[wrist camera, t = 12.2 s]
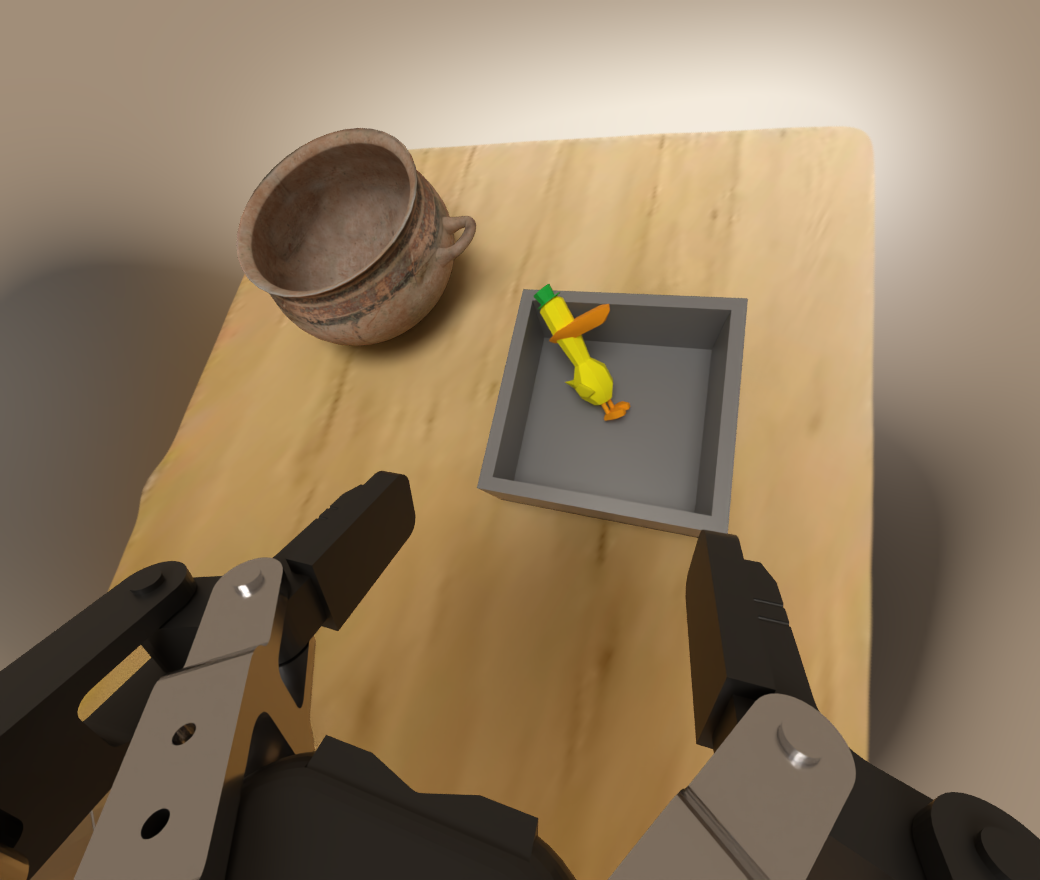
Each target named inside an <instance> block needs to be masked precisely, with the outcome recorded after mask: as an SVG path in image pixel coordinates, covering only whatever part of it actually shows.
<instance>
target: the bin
mask: <svg viewBox="0 0 1040 880" xmlns="http://www.w3.org/2000/svg"><path fill="white" fill-rule="evenodd" d="M538 291H539V290H528V289H523V293H522V297H521V301H520V305H519V310H518V314H517V318H516V323H515V327H514V331H513V336H512V340H511V344H510V348H509V353H508V357H507V361H506V366H505V370H504V374H503V378H502V383H501V387H500V391H499V396H498V400H497V404H496V409H495V413H494V417H493V421H492V426H491V430H490V434H489V439H488V443H487V447H486V451H485V456H484V460H483V464H482V469H481V473H480V477H479V482H478V486H477V488H478V489H480V490H483V491H485V492H487V493H489V494H491V495H493V496H495V497H497V498H500V499H502V500H506V501H512V502H517V503H522V504H527V505H532V506H537V507H543V508H548V509H553V510H558V511H563V512H568V513H574V514H579V515H584V516H589V517H594V518H599V519H605V520H610V521H615V522H620V523H625V524H630V525H636V526H641V527H646V528H651V529H656V530H662V531H667V532H672V533H677V534H682V535H687V536H693V537H699V534H700V532H701V530H702V529H704V530H710V531H715V532H721V533H726V534H728V524H729V512H730V500H731V488H732V477H733V465H734V453H735V442H736V430H737V418H738V406H739V395H740V383H741V371H742V359H743V348H744V336H745V324H746V313H747V301H748V299H747V298H723V297H698V296H674V295H649V294H625V293H601V292H576V291H553V292H554V294H557V293H559V292H560V294H559V295H557V296H559V297H562V298H563V299H564V301H565V303H566V305H567V306H568V308H569V310H570V312H571V314H572V316H573V318H574V319H575V318H576V317H578V316H580V315H582V314H584V313H586V312H588V311H590V310H592V309H593V308H595V307H597V306H600V305H603V304H609V307H610V311H609V314H608V316H607V319H606V321H605V322H604V323H603V324H601V325H599V326H597V327H595V328H593V329H592V330H590V331H588V332H586V333H584V334H582V337H583V340H584V342H585V345H586V347H587V350H588V353H589V355H590V357H591V358H593V359H596V360H598V361H600V362H602V363H604V364H605V365H606V367H607V369H608V371H609V373H610V375H611V377H612V378H613V389H612V398H611V401H612V402H613V404H614V405H615V404H617V403H618V402H621V401H624V402H628V403H630V406H631V407H630V408H629V409H628V410H626V414H625V415H624V416H622V417H619V418H617V419H613V420H607V421H605V420H604V416H605V414H606V413H605V411H604V409H603V408H602V406H601V405H593V404H591V403H589V402H587V401H585V400H583V399H582V398H581V397H580V396H579V394H578V393H577V391H576V390H575V389H574V388H573V387H571V386H570V385H568V384H567V383H565V382H567V381H571V380H574V371H575V366H574V365H573V363H572V362H571V361H570V359H569V358H568V356H567V355H566V354H565V352H564V351H563V350H562V348H561V347H560V345H559V344H558V343H552V342H550V341H549V340H550V338H551V337H552V336H553V335H552V333H551V331H550V329H549V328H548V326H547V324H546V322H545V320H544V319H543V317H542V315H541V313H540V311H541V308H540V309H539V310H538V308H539V307H540V306H541V304H540V303H539V302H538V301H537V300H536V299H535V298H534V297H533V296H534V295H535V294H536V293H537V292H538ZM605 403H606V405H607V406H608V408H609V409H610V407H609V405H608V403H607V402H605Z"/></svg>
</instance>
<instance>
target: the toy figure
mask: <svg viewBox="0 0 1040 880" xmlns="http://www.w3.org/2000/svg"><path fill="white" fill-rule="evenodd" d="M559 294H560V292H559V293H557V294H554V292H553V290H552V288H551V286H550V284H547V285H546V286H545V287H543V288H542V289H541V290H539V291H538V292H537V293H536V294H535V295H534V296H533V297H534V298H535V299H536V300H537V301H538V302H539V303H540V304H541V306H540V307H539V308H538V310H539V309H540V308H541V311H540V313H541V315H542V317H543V319H544V320H545V322H546V324H547V326H548V328H549V329H550V331H551V333H552V335H553V336H552V337H551V338H550V340H549V341H550V342H552V343H558V344H559V345H560V347H561V348H562V350H563V351H564V352H565V354H566V355H567V356H568V358H569V359H570V361H571V362H572V363H573V365H574V366H575V371H574V380H571V381H567V382H565V383H567V384H568V385H570V386H571V387H573V388H574V389H575V390H576V391H577V393H578V394H579V396H580V397H581V398H582V399H583V400H585V401H587V402H589V403H591V404H593V405H601V406H602V408H603V409H604V411H605V413H606V414H605V416H604V420H605V421H607V420H613V419H617V418H619V417H622V416H624V415H625V414H626V410H628V409H629V408H630V407H631V406H630V403H628V402H624V401H621V402H618V403H617V404H615V405H614V404H613V402H612V401H611V398H612V389H613V378H612V377H611V375H610V373H609V371H608V369H607V367H606V365H605V364H604V363H602V362H600V361H598V360H596V359H593V358H591V357H590V355H589V353H588V350H587V347H586V345H585V342H584V340H583V337H582V334H584V333H586V332H588V331H590V330H592V329H593V328H595V327H597V326H599V325H601V324H603V323H604V322H605V321H606V319H607V316H608V314H609V311H610V307H609V304H603V305H600V306H597V307H595V308H593V309H592V310H590V311H588V312H586V313H584V314H582V315H580V316H578V317H576V318H575V319H574V318H573V316H572V314H571V312H570V310H569V308H568V306H567V305H566V303H565V301H564V299H563V298H562V297H559V296H557V295H559ZM605 402H607V403H608V405H609V407H610V409H609V408H608V406H607V405H606V403H605Z"/></svg>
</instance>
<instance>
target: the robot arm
mask: <svg viewBox="0 0 1040 880" xmlns="http://www.w3.org/2000/svg"><path fill="white" fill-rule="evenodd" d="M414 525H415V511H414V505H413V500H412V495H411V490H410V484H409V480H408V478H407V476H405V475H402V474H397V473H391V472H386V471H379V472H377V473H376V474H375V475H374V476H372V477H371V478H370V479H369V480H368V481H367V482H366V483H365V484H364V485H359V486H357V487H355V488H353V489H352V490H350V491H348V492H346V493H344V494H343V495H342V496H340V497H339V498H338V499H337V500H336V501H335V502H334V503H333V504H332V505H331V506H330V508H329V509H328V508H327V509H326V510H325V511H324V512H323V513H322V514H321V515H320V516H319V518H318V519H315V520H314V521H313V522H312V523H311V524H310V525H309V526H308V527H306V528H305V529H304V530H303V531H302V532H301V533H300V534H299V535H298V536H297V537H295V538H294V539H293V540H292V541H291V542H290V543H289V544H288V545H287V546H286V547H284V548H283V549H282V550H281V551H280V552H279V553H278V554H277V555H276V556H274V557H273V558H257V559H253V560H249V561H247V562H244V563H242V564H240V565H238V566H236V567H234V568H233V569H231V570H230V571H228V572H227V573H226V574H224V575H223V576H214V577H195V578H193V577H192V575H191V574H190V572H189V570H188V569H187V567H186V566H185V565H184V564H183V563H181V562H177V561H167V562H162V563H157V564H154V565H151V566H149V567H146V568H144V569H142V570H140V571H138V572H136V573H134V574H133V575H131V576H129V577H128V578H126V579H125V580H124V581H122V582H121V583H120V584H118V585H117V586H115V587H114V588H113V589H111V590H110V591H109V592H107V593H106V594H105V595H103V596H102V597H101V598H99V599H98V600H96V601H95V602H94V603H93V604H91V605H90V606H88V607H87V608H86V609H84V610H83V611H82V612H80V613H79V614H78V615H76V616H75V617H73V618H72V619H71V620H69V621H68V622H67V623H65V624H64V625H63V626H61V627H60V628H59V629H57V630H56V631H54V632H53V633H52V634H51V635H49V636H48V637H46V638H45V639H44V640H42V641H41V642H40V643H38V644H37V645H35V646H34V647H33V648H32V649H30V650H29V651H28V652H26V653H25V654H23V655H22V656H21V657H19V658H18V659H17V660H15V661H14V662H13V663H11V664H10V665H8V666H7V667H6V668H4V669H3V670H2V671H0V880H576V879H575V877H574V876H573V874H572V873H571V872H570V870H569V869H568V867H567V866H566V865H565V863H564V862H563V860H562V859H561V858H560V857H559V856H558V855H557V854H556V853H555V851H554V850H553V849H552V848H551V847H550V846H549V845H548V844H547V843H545V842H544V841H543V840H542V839H541V838H540V837H538V818H536V817H534V816H531V815H529V814H526V813H524V812H521V811H518V810H516V809H513V808H511V807H508V806H506V805H503V804H501V803H498V802H496V801H493V800H490V799H488V798H485V797H483V796H480V795H455V794H426V793H418V792H415V791H414V790H412V789H411V788H410V787H409V786H408V785H407V784H405V783H404V782H403V781H402V780H401V779H400V778H399V777H398V776H397V775H396V774H395V773H393V772H392V771H391V770H390V769H389V768H388V767H387V766H386V765H385V764H384V763H383V762H382V761H380V760H379V759H378V758H377V757H376V756H375V755H374V754H373V753H371V752H368V751H366V750H363V749H361V748H358V747H356V746H353V745H350V744H348V743H345V742H343V741H340V740H338V739H335V738H333V737H330V736H327V735H326V736H325V738H324V739H323V741H322V742H321V744H320V745H319V747H318V749H317V750H316V751H315V749H314V739H313V733H312V729H311V722H310V708H311V696H312V684H313V671H314V659H315V646H316V640H315V637H314V634H315V633H316V632H317V631H318V629H319V628H320V627H321V626H323V627H326V628H330V629H333V630H336V631H339V629H340V628H341V627H342V625H343V624H344V623H345V621H346V620H347V619H348V617H349V616H350V615H351V613H352V612H353V611H354V610H355V608H356V607H357V606H358V604H359V603H360V602H361V600H362V599H363V598H364V596H365V595H366V594H367V592H368V591H369V590H370V588H371V587H372V586H373V584H374V583H375V582H376V580H377V579H378V578H379V576H380V575H381V574H382V572H383V571H384V570H385V568H386V567H387V566H388V564H389V563H390V562H391V560H392V559H393V558H394V556H395V555H396V554H397V553H398V551H399V550H400V549H401V547H402V546H403V545H404V543H405V542H406V541H407V539H408V538H409V537H410V535H411V533H412V531H413V529H414ZM686 610H687V623H688V637H689V650H690V664H691V678H692V691H693V705H694V718H695V732H696V744H698V745H701V746H705V747H708V748H711V749H713V750H714V754H713V756H712V757H711V758H710V759H709V761H708V762H707V763H706V764H705V766H704V767H703V768H702V769H701V771H700V772H699V773H698V774H697V776H696V777H695V778H694V779H693V781H692V782H691V783H690V784H689V785H688V786H687V787H686V788H685V789H682V790H681V791H680V792H679V793H678V794H677V795H676V796H675V797H674V798H673V799H672V800H671V802H670V803H669V804H668V805H667V806H666V808H665V809H664V810H663V811H662V813H661V814H660V815H659V816H658V818H657V819H656V820H655V821H654V823H653V824H652V825H651V826H650V828H649V829H648V830H647V831H646V833H645V834H644V835H643V836H642V838H641V839H640V840H639V841H638V843H637V844H636V845H635V846H634V847H633V849H632V850H631V851H630V852H629V854H628V855H627V856H626V857H625V859H624V860H623V861H622V862H621V864H620V865H619V866H618V867H617V869H616V870H615V871H614V872H613V874H612V875H611V876H610V877H609V879H608V880H1040V839H1039V838H1038V837H1036V836H1035V835H1034V834H1033V833H1032V832H1031V831H1030V830H1028V829H1027V828H1026V827H1025V826H1024V825H1022V824H1021V823H1020V822H1018V821H1017V820H1016V819H1014V818H1013V817H1012V816H1010V815H1009V814H1007V813H1006V812H1004V811H1003V810H1001V809H999V808H998V807H996V806H994V805H992V804H990V803H988V802H987V801H985V800H982V799H980V798H977V797H975V796H972V795H968V794H964V793H958V792H950V793H945V794H942V795H940V796H938V797H937V798H936V799H934V800H933V799H931V798H929V797H927V796H926V795H924V794H922V793H920V792H919V791H917V790H915V789H913V788H912V787H910V786H908V785H906V784H905V783H903V782H901V781H899V780H898V779H896V778H894V777H892V776H890V775H889V774H887V773H885V772H884V771H882V770H880V769H878V768H877V767H875V766H873V765H872V764H870V763H869V762H867V761H865V760H864V759H863V758H861V757H860V756H859V755H857V754H856V753H855V752H853V751H852V750H851V749H850V748H849V747H848V745H847V743H846V742H845V740H844V739H843V737H842V735H841V734H840V733H839V732H838V730H837V729H836V728H835V727H834V726H833V724H832V723H831V722H830V721H829V720H828V719H827V718H826V717H824V716H823V715H822V714H821V713H820V712H819V710H818V708H817V706H816V704H815V701H814V698H813V695H812V692H811V689H810V686H809V683H808V680H807V676H806V673H805V670H804V667H803V664H802V661H801V658H800V655H799V651H798V648H797V645H796V642H795V639H794V636H793V633H792V630H791V627H789V620H788V617H787V614H786V611H785V609H784V608H783V601H782V598H781V595H780V592H779V589H778V586H777V583H776V581H775V580H774V579H773V578H772V576H771V575H770V574H769V573H768V571H767V570H766V569H765V568H764V566H763V565H762V564H761V563H760V562H755V561H750V560H744V558H743V554H742V550H741V546H740V542H739V539H738V537H737V536H736V535H732V534H726V533H721V532H715V531H710V530H704V529H702V530H701V532H700V534H699V537H698V541H697V544H696V548H695V551H694V554H693V558H692V561H691V565H690V568H689V571H688V576H687V582H686ZM140 645H142V646H143V648H144V649H145V650H146V651H147V652H148V654H149V655H150V656H151V657H152V658H151V659H149V660H148V661H147V662H146V663H145V664H144V665H143V666H142V667H141V668H140V669H139V670H138V671H137V672H136V673H135V674H134V675H132V676H131V677H130V678H129V679H128V680H127V681H126V682H125V683H124V684H123V685H122V686H121V687H120V688H119V689H118V690H117V691H116V692H114V693H113V694H112V695H111V696H110V697H109V698H108V699H107V700H106V701H105V702H104V703H103V704H102V705H101V706H100V707H99V708H98V709H96V710H95V711H94V712H93V713H92V714H91V715H90V716H89V717H88V718H87V719H86V720H84V721H83V722H82V721H81V720H80V719H79V718H78V713H77V711H78V707H79V704H80V702H81V701H82V699H83V698H84V696H85V695H86V694H87V693H88V692H89V691H90V690H91V689H92V688H93V687H94V686H95V685H96V684H97V683H98V682H99V681H101V680H102V679H103V678H104V677H105V676H106V675H107V674H108V673H109V672H111V671H112V670H113V669H114V668H115V667H116V666H117V665H118V664H120V663H121V662H122V661H123V660H124V659H125V658H126V657H127V656H128V655H130V654H131V653H132V652H133V651H134V650H135V649H136V648H137V647H139V646H140Z"/></svg>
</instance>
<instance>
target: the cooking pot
mask: <svg viewBox="0 0 1040 880" xmlns="http://www.w3.org/2000/svg"><path fill="white" fill-rule="evenodd" d="M464 227H465V230H464V233H463V234H462V236H461V237H460V238H459V240H458V241H457V242H456V243H455V242H454V234H453V233H455V232H456V231H458V230H459V229H461V228H464ZM475 231H476V223H475V220H474V219H473V218H472V217H469V216H461V217H450V216H449V214H448V211H447V209H446V206H445V204H444V202H443V200H442V199H441V197H440V196H439V195H438V193H437V192H436V190H435V189H434V187H433V186H432V185H431V184H430V183H429V182H428V181H427V180H426V179H425V178H424V176H423V175H422V174H421V173H420V172H418V171H417V170H416V167H415V164H414V161H413V158H412V156H411V154H410V153H409V151H408V150H407V148H406V147H405V145H403V144H402V143H401V142H400V141H399V140H398V139H396V138H395V137H393V136H391V135H389V134H387V133H385V132H382V131H378V130H374V129H365V128H355V129H345V130H340V131H337V132H333V133H329V134H326V135H324V136H321V137H319V138H316V139H314V140H312V141H310V142H308V143H307V144H305V145H303V146H301V147H299V148H298V149H297V150H295V151H294V152H292V153H291V154H289V155H288V156H287V157H286V158H284V159H283V160H282V161H281V162H280V163H279V164H277V165H276V166H275V167H274V168H273V169H272V170H271V171H270V172H269V174H268V175H267V176H266V177H265V178H264V179H263V180H262V182H261V183H260V184H259V186H258V187H257V188H256V190H255V191H254V193H253V195H252V196H251V198H250V200H249V201H248V203H247V205H246V208H245V210H244V212H243V215H242V217H241V220H240V224H239V228H238V232H237V253H238V259H239V262H240V265H241V268H242V270H243V271H244V273H245V274H246V276H247V277H248V279H249V280H250V281H251V282H252V283H254V284H255V285H256V286H257V287H258V288H260V289H262V290H264V291H266V292H268V293H269V294H270V295H271V297H272V298H273V299H274V301H275V302H276V304H277V305H278V306H279V308H280V309H281V310H282V312H283V313H284V314H285V315H286V316H287V317H288V318H289V319H290V320H291V321H292V322H293V323H295V324H296V325H297V326H298V327H299V328H301V329H302V330H304V331H305V332H307V333H309V334H311V335H313V336H315V337H317V338H319V339H321V340H325V341H329V342H332V343H336V344H341V345H356V346H361V345H370V344H376V343H380V342H383V341H387V340H390V339H392V338H394V337H396V336H398V335H401V334H403V333H404V332H406V331H407V330H409V329H411V328H412V327H414V326H415V325H416V324H417V323H419V322H420V321H421V320H422V319H423V318H424V317H425V316H426V315H427V314H428V313H429V312H430V311H431V310H432V308H433V307H434V306H435V305H436V303H437V302H438V300H439V299H440V297H441V296H442V294H443V292H444V290H445V288H446V286H447V283H448V281H449V279H450V275H451V271H452V267H453V262H454V258H456V257H457V256H459V255H460V254H461V253H462V252H463V251H464V250H465V249H466V248H467V246H468V245H469V244H470V242H471V241H472V239H473V237H474V234H475Z"/></svg>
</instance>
